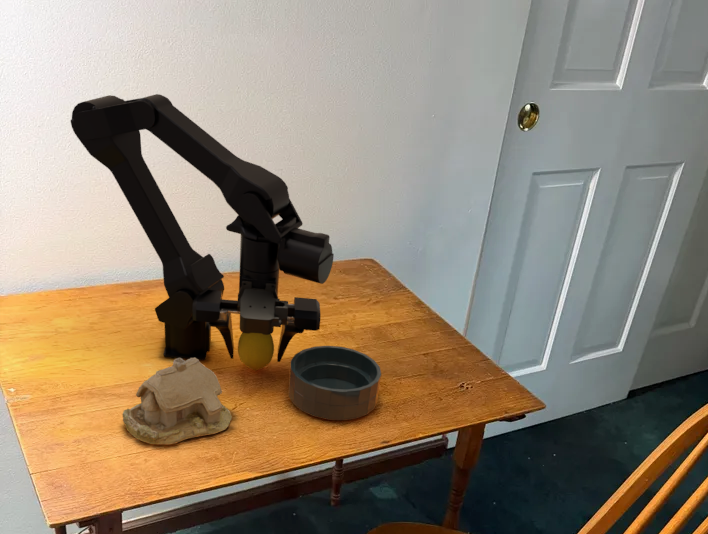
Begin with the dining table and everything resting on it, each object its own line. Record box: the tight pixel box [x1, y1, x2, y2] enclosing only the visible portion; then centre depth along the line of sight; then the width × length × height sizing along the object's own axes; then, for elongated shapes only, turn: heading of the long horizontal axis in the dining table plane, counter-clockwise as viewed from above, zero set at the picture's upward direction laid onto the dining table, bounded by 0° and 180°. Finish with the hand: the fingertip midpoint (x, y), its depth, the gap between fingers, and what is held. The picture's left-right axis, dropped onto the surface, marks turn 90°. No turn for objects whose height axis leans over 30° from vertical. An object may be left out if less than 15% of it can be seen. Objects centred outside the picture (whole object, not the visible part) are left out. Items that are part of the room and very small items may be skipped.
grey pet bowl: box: [288, 345, 382, 421], centre depth 120 cm, size 14×14×6 cm
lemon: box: [237, 331, 275, 372], centre depth 122 cm, size 6×6×8 cm
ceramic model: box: [121, 357, 233, 445], centre depth 107 cm, size 14×11×10 cm
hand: (255, 359), depth 124 cm, fingers open, 7 cm apart
